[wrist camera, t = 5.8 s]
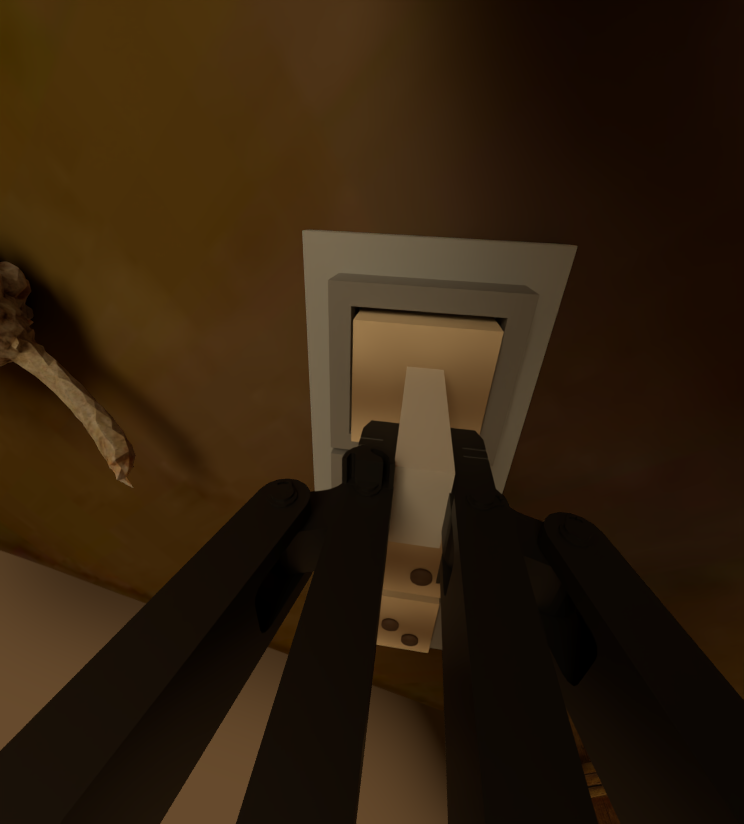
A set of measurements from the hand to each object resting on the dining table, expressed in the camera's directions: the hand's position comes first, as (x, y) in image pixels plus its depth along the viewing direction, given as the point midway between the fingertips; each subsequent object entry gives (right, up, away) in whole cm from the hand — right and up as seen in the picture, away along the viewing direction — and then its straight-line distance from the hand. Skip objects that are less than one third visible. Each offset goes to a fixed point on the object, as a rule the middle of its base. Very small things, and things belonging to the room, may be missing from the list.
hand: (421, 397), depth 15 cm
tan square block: (0, +2, +3) cm, 4 cm away
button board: (0, -5, +9) cm, 10 cm away
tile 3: (0, -14, +12) cm, 19 cm away
